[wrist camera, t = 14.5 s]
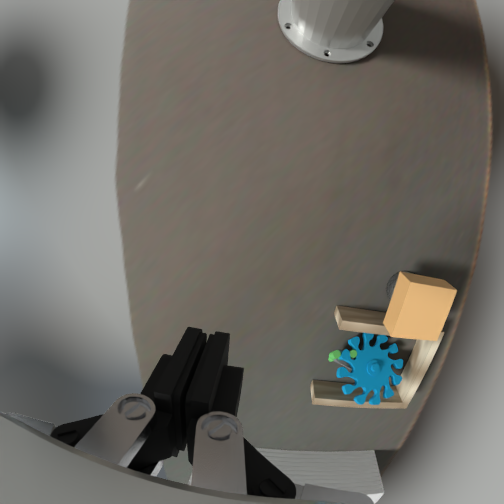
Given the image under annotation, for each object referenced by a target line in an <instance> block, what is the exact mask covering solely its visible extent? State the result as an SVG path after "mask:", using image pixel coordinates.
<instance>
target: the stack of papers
mask: <svg viewBox="0 0 504 504" xmlns="http://www.w3.org/2000/svg"><path fill="white" fill-rule="evenodd" d="M255 449H256V450H257V451H259V452H260V453H261V454H262V455H263V456H264V457H265V458H266V459H268V460H269V461H270V462H271V463H272V464H273V465H274V466H276V467H277V468H278V469H279V470H280V471H281V472H283V473H284V474H285V475H286V476H287V477H289V478H290V479H291V480H292V482H293V483H294V484H299V485H303V486H304V485H305V483H306V484H311V485H316V486H321V487H326V488H332V489H338V490H345V491H352V492H359V493H363V494H366V495H367V496H369V497H370V498H371V499H372V501H373V502H374V504H375V503H376V502H377V501H378V500H379V498H380V497H381V496H382V495H383V494H384V489H383V485H382V481H381V477H380V473H379V469H378V465H377V464H378V463H377V461H376V460H377V459H376V457H375V456H376V455H375V451H374V450H366V451H337V452H320V451H290V450H275V449H263V448H255ZM191 482H192V474H191V477H190V481H189V484H188V485H191Z"/></svg>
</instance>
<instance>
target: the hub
mask: <svg viewBox="0 0 504 504" xmlns="http://www.w3.org/2000/svg"><path fill="white" fill-rule="evenodd" d="M456 292H457V290H456V289H455V288H454V287H453V286H451V285H450V284H449V283H448V282H447V281H445V280H443V279H437V278H432V277H427V276H421V275H416V274H411V273H405V272H400V273H399V276H398V279H397V283H396V286H395V289H394V292H393V295H392V298H391V301H390V304H389V307H388V310H387V313H386V315H385V318H384V321H383V324H384V325H385V327H386V329H387V331H388V332H389V334H390V336H391V337H398V338H408V339H419V340H430V341H437V340H438V338H439V335H440V333H441V331H442V328H443V326H444V323H445V321H446V319H447V316H448V314H449V311H450V308H451V306H452V303H453V300H454V298H455V295H456Z"/></svg>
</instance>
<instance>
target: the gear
mask: <svg viewBox="0 0 504 504" xmlns="http://www.w3.org/2000/svg"><path fill="white" fill-rule="evenodd" d="M373 336H374V334H371V333H363V334H362V337H363V342H364V343H363V348H362V350H359V348H358V345H359V342H360V339H359V337H354V338H351V339H349V340H348V344H349V345H350V346H351V347H352V349H353V350H351V351H349V350H347V349H345V350H335V351H333V352H330V354H329V358H328V360H329V361H330V362H332V361H335V362H336V363H338V364H340V365H342V366H345V367H347V368H349V369H351V370H352V371H351V373H349V372H348V370H347V369H346V368H345V367H340V368H338V369H337V377H338V378H342V377H350V378H353V379H354V380H355V384H354V385H351V384H345V385H343V386H342V390H343V393H344V394H351V393H352V392H353V391H354V390H355V389H356V388H358V387H362V388H363V393H362V394H361V395H357V396H355V397H354V401H355V402H356V403H357V404H359V405H362V404H364V403H365V400H366V397H367V395H368V393H369V392H370V391H371V390H373V391H374V395H373V396H372V397H371V398H370V400H369V404H371V405H379V404H380V402H381V400H380V390H381V387H382V386H384V392H383V397H384V398H390V397H392V396H393V395H394V391H393V390H392V389H391V388H390V385H389V376H390V377H391V380H392V384H393V385H399V384H400V382H401V381H402V377H401V376H399V375H396V374H395V373H394V372H393V371H392V369H391V364H392V365H393V366H394V368H395V369H400V368H402V367H403V360H402V359H398V360H392V359H390V358H389V357H388V353H390V354H394V353H397V352H398V347H397V345H396V344H392V345H390V346H389V347H388V348H387V349H386V350H381V349H380V344H382V343H384V342H386V341H387V340H388V338H387V336H386V335H380V334H379V335H378V336H377V340H376V343H375V344H374V345H373V346H372V347H371V346H370V345H369V341H370V340H371V339H372V338H373Z"/></svg>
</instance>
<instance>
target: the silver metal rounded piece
mask: <svg viewBox="0 0 504 504" xmlns="http://www.w3.org/2000/svg"><path fill="white" fill-rule="evenodd" d="M401 272H405V273H411V272H408V271H401ZM399 273H400V272H398V273H396V274H395V275H393V276H392V277H391V279H390V280H389V282H388V284H387V295H388V297H389V299H390V300H391V298H392V295H393V292H394V289H395V286H396V283H397V279H398V276H399ZM411 274H412V273H411Z"/></svg>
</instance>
